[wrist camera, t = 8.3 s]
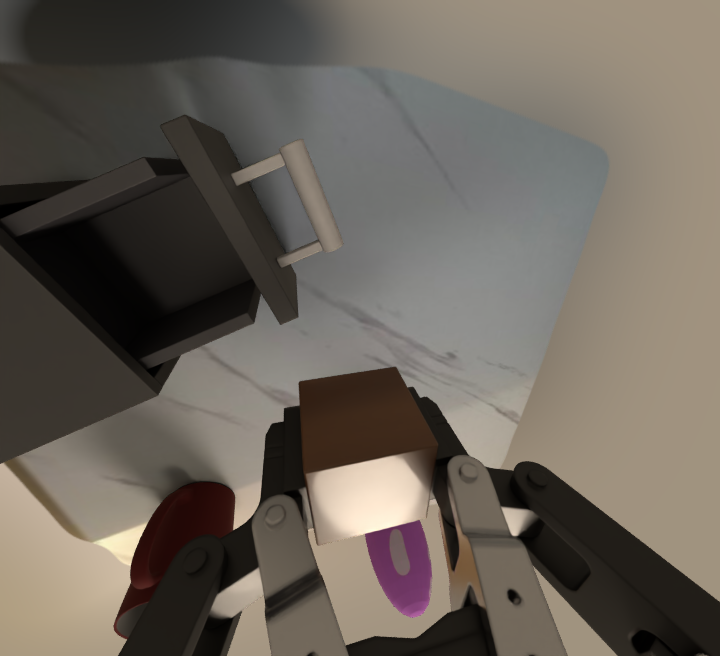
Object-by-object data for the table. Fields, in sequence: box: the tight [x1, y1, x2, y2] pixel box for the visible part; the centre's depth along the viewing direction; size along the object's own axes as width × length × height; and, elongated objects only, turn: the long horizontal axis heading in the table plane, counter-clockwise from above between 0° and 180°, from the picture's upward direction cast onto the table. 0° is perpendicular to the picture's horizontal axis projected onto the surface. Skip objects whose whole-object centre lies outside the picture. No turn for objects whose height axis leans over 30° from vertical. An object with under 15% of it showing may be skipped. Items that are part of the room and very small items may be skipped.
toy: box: [365, 520, 432, 618], centre depth 34 cm, size 7×7×15 cm
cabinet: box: [0, 180, 181, 464], centre depth 18 cm, size 14×12×10 cm
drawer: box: [0, 115, 344, 370], centre depth 18 cm, size 17×10×8 cm, turn 110°
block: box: [299, 367, 438, 545], centre depth 11 cm, size 4×4×4 cm
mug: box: [114, 482, 235, 639], centre depth 30 cm, size 12×9×11 cm
